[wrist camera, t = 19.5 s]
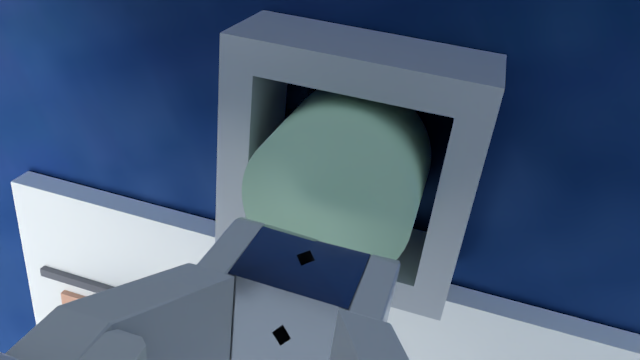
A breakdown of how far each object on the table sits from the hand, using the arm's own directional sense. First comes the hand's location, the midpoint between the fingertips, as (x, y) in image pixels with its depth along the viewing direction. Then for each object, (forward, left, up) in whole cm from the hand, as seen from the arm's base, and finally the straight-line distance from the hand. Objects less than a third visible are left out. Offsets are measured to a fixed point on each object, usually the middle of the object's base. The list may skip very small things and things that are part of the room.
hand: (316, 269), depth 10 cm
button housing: (+1, 0, -6) cm, 6 cm away
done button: (+1, 0, -5) cm, 5 cm away
